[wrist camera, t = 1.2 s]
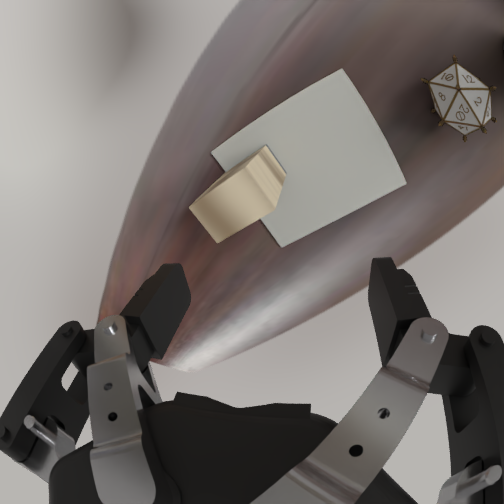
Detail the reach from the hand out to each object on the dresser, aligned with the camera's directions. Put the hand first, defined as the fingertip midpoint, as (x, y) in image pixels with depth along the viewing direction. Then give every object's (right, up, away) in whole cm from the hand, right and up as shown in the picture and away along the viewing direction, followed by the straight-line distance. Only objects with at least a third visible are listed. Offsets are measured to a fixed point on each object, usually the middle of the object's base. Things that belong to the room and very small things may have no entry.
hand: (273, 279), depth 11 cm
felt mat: (+6, +11, +18) cm, 22 cm away
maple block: (-1, +10, +19) cm, 22 cm away
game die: (+21, +19, +10) cm, 30 cm away
